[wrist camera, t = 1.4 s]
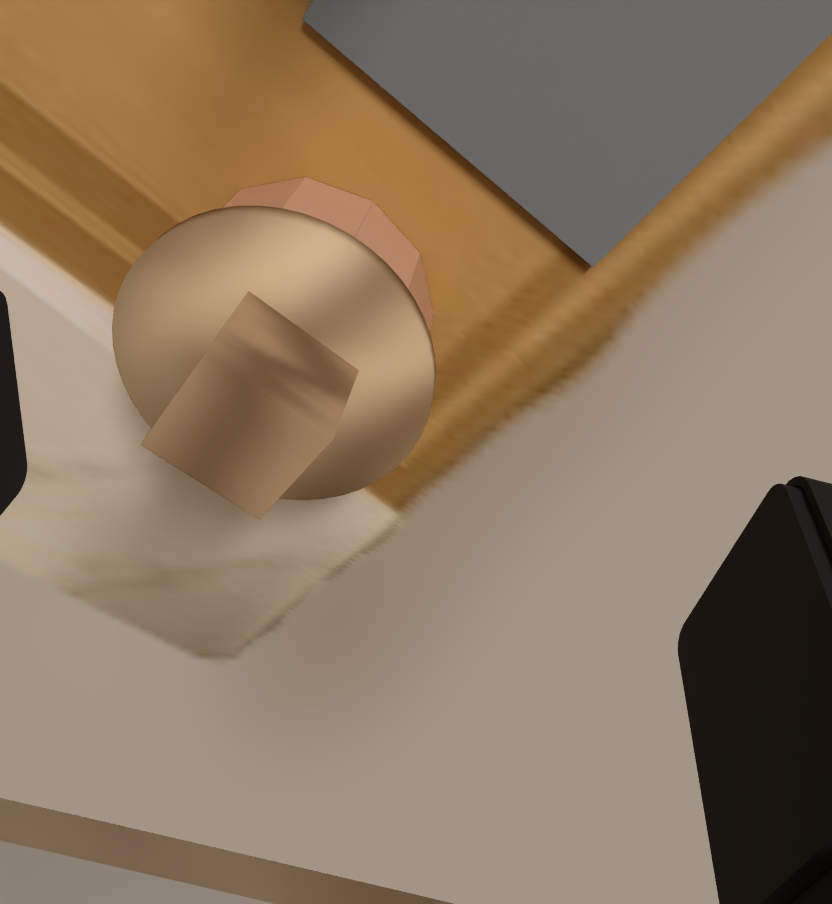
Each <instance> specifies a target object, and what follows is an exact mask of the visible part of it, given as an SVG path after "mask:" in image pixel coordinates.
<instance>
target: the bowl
mask: <svg viewBox="0 0 832 904" xmlns="http://www.w3.org/2000/svg"><path fill="white" fill-rule="evenodd" d="M257 205H259V206H268V207H277V208H284V209H288V210H292V211H296V212H300V213H304V214H307V215H310V216H312V217H315V218H317V219H320V220H323V221H325V222H328V223H330V224H332V225H334V226H336V227H337V228H339V229H341V230H343V231H345V232H347V233H349V234H350V235H352V236H353V237H355V238H356V239H358V240H359V241H361V242H362V243H363V244H365V245H366V246H368V247H369V248H370V249H371V250H373V251H374V252H375V253H376V254H377V255H378V256H379V257H381V258H382V259H383V260H384V261H385V262H386V263H387V264H388V265H389V266H390V267H391V268H392V270H393V271H394V272H395V273H396V274H397V275H398V276H399V277H400V278H401V280H402V281H403V282H404V284H405V285H406V287H407V288H408V290H409V291H410V293H411V294H412V295H413V297H414V298H415V300H416V302H417V304H418V306H419V308H420V310H421V312H422V314H423V316H424V318H425V321H426V324H427V327H428V330H429V331H430V328H431V324H432V320H433V316H434V314H433V309H432V305H431V300H430V296H429V291H428V287H427V282H426V278H425V273H424V269H423V265H422V260H421V256H420V253H419V252H418V251H417V250H416V249H415V247H414V246H413V245H412V244H411V243H410V242H409V241H408V240H407V239H406V237H405V236H404V235H403V234H402V233H401V232H400V231H399V230H398V229H397V228H396V226H395V225H394V224H393V223H392V222H391V221H390V220H389V219H388V218H387V216H386V215H385V214H384V213H383V212H382V211H381V210H380V209H379V208H378V206H377V205H376V204H375V203H374V202H373V201H370V200H367V199H365V198H362V197H359V196H356V195H354V194H351V193H348V192H345V191H343V190H340V189H337V188H334V187H332V186H329V185H326V184H323V183H320V182H318V181H315V180H312V179H309V178H307V177H303V178H298V179H293V180H287V181H282V182H277V183H271V184H266V185H260V186H255V187H250V188H244V189H240V190H239V191H238V192H237V193H236V194H235V195H234V196H233V197H232V198H231V199H230V200H229V201H228V202H227V203H226V205H225V206H224V207H223V208H226V207H232V206H257Z"/></svg>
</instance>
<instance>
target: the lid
mask: <svg viewBox="0 0 832 904" xmlns="http://www.w3.org/2000/svg"><path fill="white" fill-rule="evenodd" d="M112 335H113V348H114V353H115V359H116V364H117V367H118V370H119V373H120V376H121V379H122V382H123V384H124V386H125V388H126V390H127V392H128V394H129V396H130V398H131V400H132V402H133V403H134V405H135V407H136V408H137V410H138V411H139V413H140V415H141V416H142V417H143V418H144V420H145V421H146V422H147V424H148V425H149V426H150V427H151V430H150V432H149V433H148V435H147V436H146V437H145V439H144V440H143V442H142V443H141V445H142V446H143V447H145V448H146V449H148V450H150V451H151V452H153V453H154V454H156V455H158V456H159V457H161V458H162V459H164V460H165V461H167V462H169V463H170V464H172V465H173V466H175V467H177V468H178V469H180V470H181V471H183V472H184V473H186V474H188V475H189V476H191V477H192V478H194V479H196V480H197V481H199V482H200V483H202V484H204V485H205V486H207V487H208V488H210V489H211V490H213V491H215V492H216V493H218V494H219V495H221V496H223V497H224V498H226V499H227V500H229V501H231V502H232V503H234V504H235V505H237V506H238V507H240V508H242V509H243V510H245V511H246V512H248V513H250V514H251V515H253V516H254V517H256V518H258V519H260V518H261V517H262V516H263V515H264V514H265V513H266V512H267V511H268V510H269V508H270V507H271V506H272V505H273V504H274V503H275V502H276V501H277V500H278V499H279V498H282V499H295V500H311V499H324V498H330V497H335V496H341V495H344V494H347V493H351V492H354V491H357V490H360V489H362V488H364V487H366V486H368V485H371V484H373V483H374V482H376V481H378V480H379V479H381V478H383V477H384V476H386V475H387V474H389V473H390V472H391V471H392V470H393V469H394V468H396V467H397V466H398V465H399V464H400V463H401V462H402V461H403V460H404V459H405V458H406V457H407V455H408V454H409V453H410V452H411V451H412V449H413V448H414V446H415V444H416V443H417V441H418V440H419V438H420V436H421V434H422V432H423V429H424V427H425V425H426V423H427V420H428V416H429V412H430V408H431V404H432V399H433V395H434V388H435V378H436V368H435V354H434V349H433V344H432V339H431V335H430V332H429V330H428V327H427V324H426V321H425V318H424V316H423V314H422V312H421V310H420V308H419V306H418V304H417V302H416V300H415V298H414V297H413V295H412V294H411V293H410V291H409V290H408V288H407V287H406V285H405V284H404V282H403V281H402V280H401V278H400V277H399V276H398V275H397V274H396V273H395V272H394V271H393V270H392V268H391V267H390V266H389V265H388V264H387V263H386V262H385V261H384V260H383V259H382V258H381V257H379V256H378V255H377V254H376V253H375V252H374V251H373V250H371V249H370V248H369V247H368V246H366V245H365V244H363V243H362V242H361V241H359V240H358V239H356V238H355V237H353V236H352V235H350V234H349V233H347V232H345V231H343V230H341V229H339V228H337V227H336V226H334V225H332V224H330V223H328V222H325V221H323V220H320V219H317V218H315V217H312V216H310V215H307V214H304V213H300V212H296V211H292V210H288V209H284V208H277V207H268V206H259V205H257V206H232V207H226V208H220V209H214V210H211V211H208V212H204V213H201V214H198V215H195V216H193V217H191V218H189V219H187V220H185V221H183V222H181V223H179V224H177V225H175V226H174V227H172V228H171V229H170V230H168V231H167V232H165V233H164V234H163V235H161V236H160V237H159V238H158V239H157V240H156V241H155V242H154V243H153V244H152V245H151V246H150V247H149V248H148V249H147V250H146V251H145V252H144V253H143V254H142V255H141V256H140V257H139V258H138V259H137V260H136V262H135V263H134V264H133V266H132V267H131V269H130V270H129V272H128V273H127V275H126V277H125V279H124V281H123V283H122V285H121V287H120V290H119V292H118V296H117V300H116V303H115V307H114V314H113V323H112Z"/></svg>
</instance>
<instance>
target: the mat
mask: <svg viewBox="0 0 832 904" xmlns="http://www.w3.org/2000/svg"><path fill="white" fill-rule="evenodd" d="M302 19H303V20H304V21H305V22H306V23H307V24H308V25H310V26H311V27H312V28H313V29H314V30H316V31H317V32H318V33H319V34H320V35H321V36H323V37H324V38H325V39H326V40H327V41H328V42H330V43H331V44H332V45H333V46H334V47H335V48H337V49H338V50H339V51H340V52H341V53H342V54H344V55H345V56H346V57H347V58H348V59H350V60H351V61H352V62H353V63H354V64H355V65H357V66H358V67H359V68H360V69H361V70H362V71H364V72H365V73H366V74H367V75H368V76H369V77H371V78H372V79H373V80H374V81H375V82H376V83H378V84H379V85H380V86H381V87H382V88H384V89H385V90H386V91H387V92H388V93H389V94H391V95H392V96H393V97H394V98H395V99H396V100H398V101H399V102H400V103H401V104H402V105H403V106H405V107H406V108H407V109H408V110H409V111H410V112H412V113H413V114H414V115H415V116H416V117H418V118H419V119H420V120H421V121H422V122H423V123H425V124H426V125H427V126H428V127H429V128H430V129H432V130H433V131H434V132H435V133H436V134H437V135H439V136H440V137H441V138H442V139H443V140H444V141H446V142H447V143H448V144H449V145H450V146H451V147H453V148H454V149H455V150H456V151H457V152H459V153H460V154H461V155H462V156H463V157H464V158H466V159H467V160H468V161H469V162H470V163H471V164H473V165H474V166H475V167H476V168H477V169H478V170H480V171H481V172H482V173H483V174H484V175H485V176H487V177H488V178H489V179H490V180H491V181H493V182H494V183H495V184H496V185H497V186H498V187H500V188H501V189H502V190H503V191H504V192H505V193H507V194H508V195H509V196H510V197H511V198H512V199H514V200H515V201H516V202H517V203H518V204H519V205H521V206H522V207H523V208H524V209H525V210H527V211H528V212H529V213H530V214H531V215H532V216H534V217H535V218H536V219H537V220H538V221H539V222H541V223H542V224H543V225H544V226H545V227H546V228H548V229H549V230H550V231H551V232H552V233H553V234H555V235H556V236H557V237H558V238H559V239H560V240H562V241H563V242H564V243H565V244H566V245H568V246H569V247H570V248H571V249H572V250H573V251H575V252H576V253H577V254H578V255H579V256H580V257H582V258H583V259H584V260H585V261H586V262H587V263H589V264H590V265H591V266H592V267H594V266H595V265H596V264H597V263H598V262H599V261H600V260H601V259H602V258H603V257H604V256H605V255H606V254H607V253H608V252H609V251H610V250H611V249H612V248H613V247H614V246H615V245H616V244H617V243H618V242H620V241H621V240H622V239H623V238H624V237H625V236H626V235H627V234H628V233H629V232H630V231H631V230H632V229H633V228H634V227H635V226H636V225H637V224H638V223H639V222H640V221H641V220H642V219H643V218H644V217H645V216H646V215H647V214H648V213H649V212H650V211H651V210H652V209H653V208H654V207H655V206H656V205H657V204H658V203H659V202H660V201H661V200H662V199H663V198H664V197H665V196H666V195H667V194H668V193H669V192H670V191H671V190H672V189H673V188H674V187H675V186H677V185H678V184H679V183H680V182H681V181H682V180H683V179H684V178H685V177H686V176H687V175H688V174H689V173H690V172H691V171H692V170H693V169H694V168H695V167H696V166H697V165H698V164H699V163H700V162H701V161H702V160H703V159H704V158H705V157H706V156H707V155H708V154H709V153H710V152H711V151H712V150H713V149H714V148H715V147H716V146H717V145H718V144H719V143H720V142H721V141H722V140H723V139H724V138H725V137H726V136H727V135H728V134H729V133H730V132H731V131H733V130H734V129H735V128H736V127H737V126H738V125H739V124H740V123H741V122H742V121H743V120H744V119H745V118H746V117H747V116H748V115H749V114H750V113H751V112H752V111H753V110H754V109H755V108H756V107H757V106H758V105H759V104H760V103H761V102H762V101H763V100H764V99H765V98H766V97H767V96H768V95H769V94H770V93H771V92H772V91H773V90H774V89H775V88H776V87H777V86H778V85H779V84H780V83H781V82H782V81H783V80H784V79H785V78H786V77H787V76H788V75H790V74H791V73H792V72H793V71H794V70H795V69H796V68H797V67H798V66H799V65H800V64H801V63H802V62H803V61H804V60H805V59H806V58H807V57H808V56H809V55H810V54H811V53H812V52H813V51H814V50H815V49H816V48H817V47H818V46H819V45H820V44H821V43H822V42H823V41H824V40H825V39H826V38H827V37H828V36H829V35H830V34H831V33H832V0H313V1H312V3H311V4H310V6H309V8H308V9H307V11H306V13H305V14H304V16H303V18H302Z"/></svg>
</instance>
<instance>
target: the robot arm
mask: <svg viewBox="0 0 832 904" xmlns="http://www.w3.org/2000/svg"><path fill="white" fill-rule="evenodd" d="M26 473H27V459H26V451H25V443H24V435H23V427H22V419H21V411H20V403H19V395H18V387H17V379H16V371H15V363H14V354H13V346H12V338H11V330H10V322H9V314H8V306H7V301H6V298H5V296H4V294H3V293H2V292H1V291H0V515H1V514H2V513H3V512H4V510H5V509H6V508H7V507H8V506H9V504H10V503H11V502H12V501H13V499H14V498H15V497H16V496H17V495H18V493H19V492H20V490H21V488H22V486H23V484H24V481H25V478H26ZM678 656H679V662H680V668H681V674H682V680H683V685H684V691H685V698H686V704H687V710H688V716H689V722H690V728H691V734H692V740H693V747H694V753H695V759H696V764H697V771H698V777H699V783H700V789H701V795H702V801H703V807H704V813H705V819H706V825H707V831H708V836H709V842H710V849H711V855H712V861H713V867H714V873H715V879H716V885H717V891H718V898H719V904H832V484H830V483H826V482H822V481H818V480H814V479H810V478H806V477H802V476H799V477H795V478H793V479H791V480H790V481H788V483H787V484H786V485H783V484H776V485H774V486H773V487H772V488H771V489H770V490H769V492H768V493H767V495H766V496H765V498H764V499H763V501H762V502H761V504H760V505H759V507H758V509H757V510H756V512H755V513H754V515H753V517H752V518H751V520H750V521H749V523H748V524H747V526H746V527H745V529H744V531H743V532H742V534H741V535H740V537H739V538H738V540H737V542H736V543H735V545H734V546H733V548H732V549H731V551H730V553H729V554H728V556H727V557H726V559H725V560H724V562H723V564H722V565H721V567H720V568H719V570H718V571H717V573H716V574H715V576H714V577H713V579H712V581H711V582H710V584H709V585H708V587H707V588H706V590H705V592H704V594H703V595H702V596H701V598H700V599H699V601H698V603H697V604H696V606H695V608H694V609H693V610H692V612H691V614H690V615H689V617H688V618H687V620H686V621H685V623H684V625H683V627H682V629H681V632H680V635H679V641H678ZM0 904H452V903H448V902H444V901H440V900H436V899H432V898H427V897H423V896H419V895H415V894H411V893H406V892H402V891H398V890H394V889H389V888H385V887H381V886H376V885H372V884H368V883H364V882H359V881H355V880H351V879H347V878H342V877H338V876H334V875H329V874H325V873H321V872H317V871H313V870H308V869H304V868H300V867H295V866H291V865H287V864H282V863H278V862H274V861H270V860H265V859H261V858H257V857H253V856H248V855H244V854H240V853H235V852H231V851H227V850H223V849H219V848H214V847H209V846H205V845H201V844H197V843H192V842H188V841H184V840H180V839H175V838H171V837H167V836H163V835H158V834H154V833H149V832H146V831H141V830H137V829H133V828H128V827H124V826H120V825H115V824H110V823H107V822H103V821H98V820H94V819H89V818H85V817H81V816H77V815H72V814H68V813H63V812H59V811H55V810H50V809H46V808H42V807H37V806H32V805H28V804H24V803H20V802H15V801H11V800H7V799H2V798H0Z"/></svg>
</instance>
